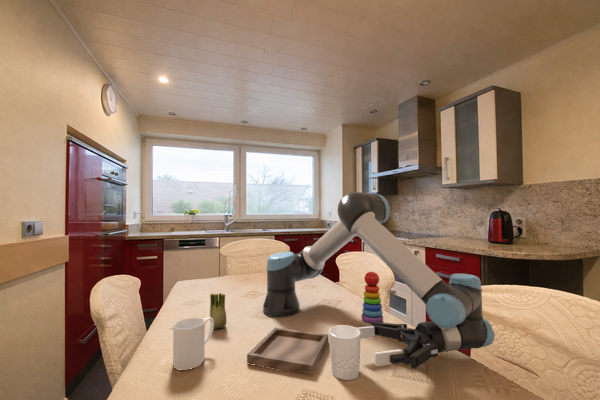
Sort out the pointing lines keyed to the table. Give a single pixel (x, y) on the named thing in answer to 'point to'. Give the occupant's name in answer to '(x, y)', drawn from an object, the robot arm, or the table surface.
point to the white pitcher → (190, 342)
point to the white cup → (345, 351)
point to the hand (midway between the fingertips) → (362, 345)
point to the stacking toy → (371, 301)
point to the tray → (290, 351)
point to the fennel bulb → (218, 310)
